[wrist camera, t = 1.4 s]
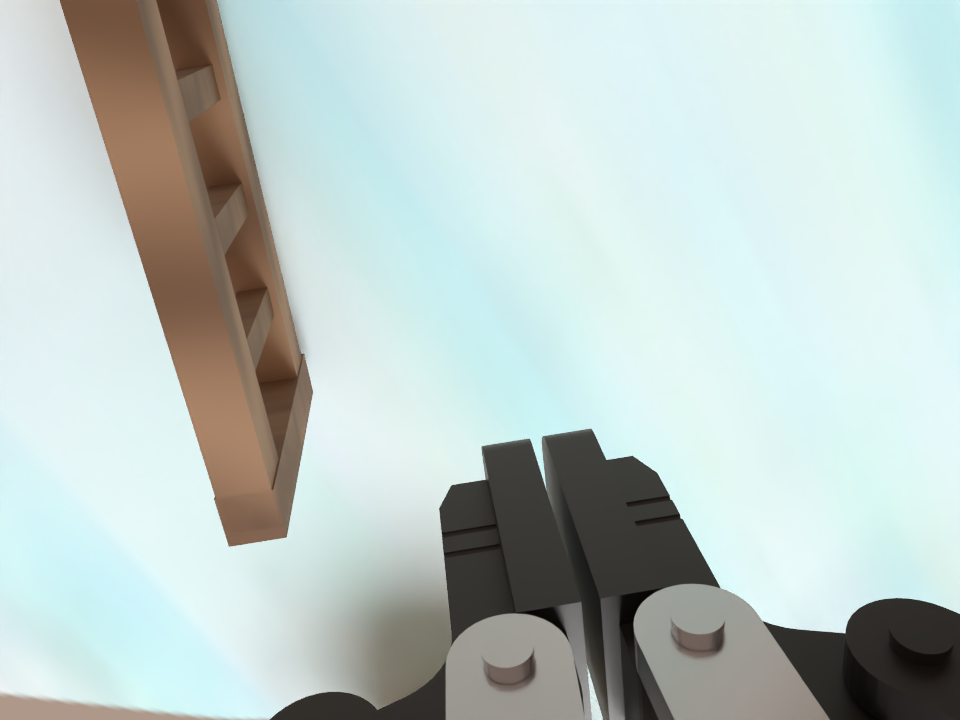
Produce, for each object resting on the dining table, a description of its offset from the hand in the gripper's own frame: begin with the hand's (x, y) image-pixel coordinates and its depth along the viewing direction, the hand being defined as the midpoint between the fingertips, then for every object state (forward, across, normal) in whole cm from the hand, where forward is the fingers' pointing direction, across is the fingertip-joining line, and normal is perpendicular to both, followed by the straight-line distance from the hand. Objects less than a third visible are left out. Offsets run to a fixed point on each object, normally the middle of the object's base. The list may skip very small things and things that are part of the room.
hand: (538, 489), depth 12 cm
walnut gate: (+18, +7, -1) cm, 19 cm away
